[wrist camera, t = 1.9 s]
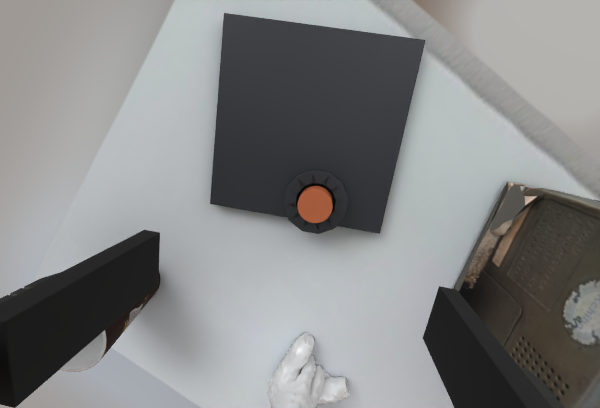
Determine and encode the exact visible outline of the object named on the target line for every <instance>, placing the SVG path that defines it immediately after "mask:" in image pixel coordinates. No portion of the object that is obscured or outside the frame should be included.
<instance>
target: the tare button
mask: <svg viewBox="0 0 600 408" xmlns="http://www.w3.org/2000/svg"><path fill="white" fill-rule="evenodd" d="M297 207H298V212H299V214H300V215H301V217H302V218H303V219H304V220H306V221H308V222H311V223H320V222H323V221H324V220H326V219H327V218H328V217H329V216H330V214H331V212H332V208H333V204H332V197H331V195H330V193H329V192H328V191H327V190H326V189H325V188H323V187H320V186H311V187H308V188H306V189H305V190H304V191H303V192H302V194H301V195H300V198H299V200H298V204H297Z"/></svg>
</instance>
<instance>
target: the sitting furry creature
mask: <svg viewBox="0 0 600 408" xmlns="http://www.w3.org/2000/svg"><path fill="white" fill-rule="evenodd" d="M313 348H314V339H313V337H312V335H308V333H305V334H303V335H301V336H300V337H299V338H298V339H295V342H294V344H292V345H291V347H290V350H288V353H287V354H286V356H285V357H284V358H283V361H281V363H280V366H278V368H277V370H276V371H274V375H273V377H272V379H271V380H270V382H269V390H268V392H267V394H268V396H269V401H270V404H271V408H317V405H320V404H325V403H331V404H333V403H335V402H336V401H339V402H340V401H341V399H345V398H347V397H349V396H350V392H349V386H348V383H347V380H346V378H345V377H331V376H330V375H329V374H328V373H326V372H325V371H324V369H322V368H321V365H317V366H316V365H315V364H316V360H315V359H314V356H313V355H311V352H312V350H313Z"/></svg>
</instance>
